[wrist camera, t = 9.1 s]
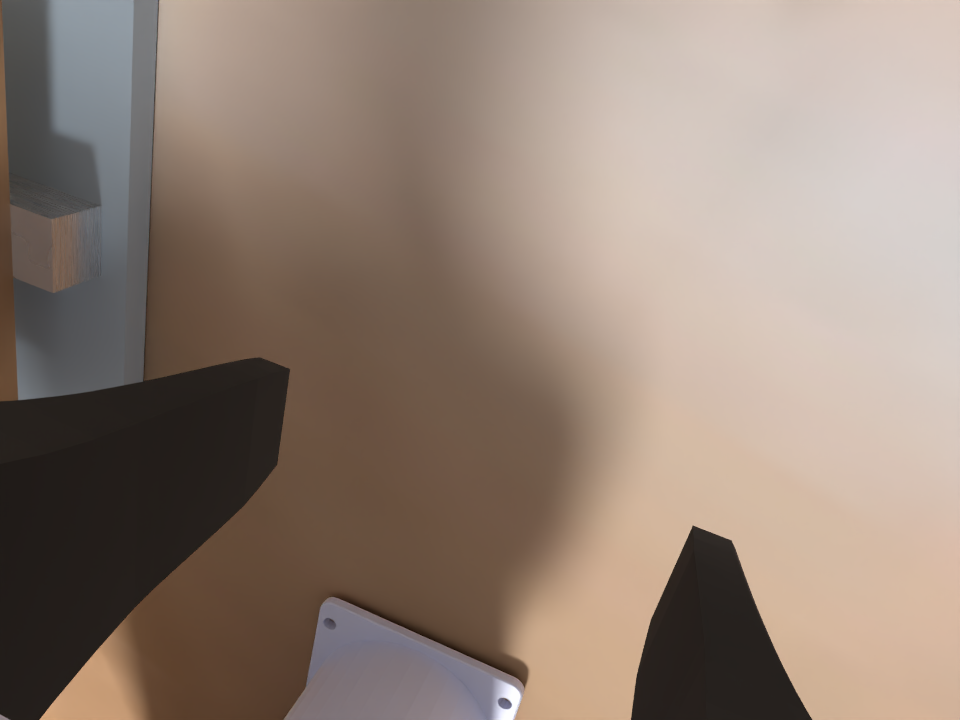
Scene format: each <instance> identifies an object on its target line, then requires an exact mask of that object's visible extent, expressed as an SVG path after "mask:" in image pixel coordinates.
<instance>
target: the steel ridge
mask: <svg viewBox="0 0 960 720" xmlns="http://www.w3.org/2000/svg"><path fill="white" fill-rule="evenodd" d="M9 190H10V214H11V238H12V263H13V278H16V279H18V280H21V281H23V282H26V283H29V284H31V285H34V286H36V287H39V288H41V289H44V290H46V291H49V292H51V293H55V292H58V291H60V290H63V289H66V288H68V287H71V286H74V285H76V284H79V283H82V282H84V281H87V280H90V279H92V278H95V277H98V276H100V275H101V232H102V206H101V205H98V204H95V203H92V202H90V201H87V200H84V199H81V198H79V197H76V196H73V195H70V194H68V193H65V192H62V191H59V190H56V189H54V188H51V187H48V186H45V185H43V184H40V183H37V182H34V181H32V180H29V179H26V178H23V177H21V176H18V175H15V174H12V173H10V172H9Z"/></svg>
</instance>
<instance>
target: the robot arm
mask: <svg viewBox="0 0 960 720" xmlns="http://www.w3.org/2000/svg"><path fill="white" fill-rule="evenodd" d="M289 372H290V369H288V368H285V367H283V366H280V365H278V364H275V363H273V362H270V361H267V360H265V359H262V358H252V359H245V360H240V361H234V362H230V363H225V364H220V365H216V366H211V367H207V368H202V369H198V370H194V371H189V372H185V373H180V374H176V375H171V376H167V377H162V378H158V379H154V380H149V381H144V382H138V383H133V384H128V385H122V386H117V387H112V388H106V389H101V390H96V391H90V392H83V393H77V394H70V395H62V396H54V397H44V398H35V399H26V400H14V401H0V720H39V719H40V718H41V717H42V716H43V714H44V713H45V712H46V711H47V709H48V708H49V707H50V705H51V704H52V703H53V702H54V700H55V699H56V698H57V697H58V696H59V694H60V693H61V692H62V691H63V690H64V688H65V687H66V686H67V685H68V684H69V682H70V681H71V680H72V679H73V678H74V677H75V675H76V674H77V673H78V672H79V671H80V669H81V668H82V667H83V666H84V665H85V663H86V662H87V661H88V660H89V659H90V657H91V656H92V655H93V654H94V653H95V652H96V650H97V649H98V648H99V647H100V646H101V645H102V644H103V642H104V641H105V640H106V639H107V638H108V637H109V636H110V635H111V633H112V632H113V631H114V630H115V629H116V628H117V627H118V626H119V624H120V623H121V622H122V621H123V620H124V619H125V618H126V617H127V615H128V614H129V613H130V612H131V611H132V610H133V609H134V608H135V607H136V606H137V605H138V604H139V603H140V602H141V601H142V600H143V599H144V598H145V597H146V596H147V595H148V594H149V593H150V592H151V591H152V590H153V589H154V588H155V587H156V586H157V585H158V584H159V583H160V582H162V581H163V580H164V579H165V578H166V577H167V576H168V575H169V574H170V573H171V572H172V571H174V570H175V569H176V568H177V567H178V566H179V565H180V564H181V563H182V562H183V561H185V560H186V559H187V558H188V557H189V556H190V555H191V554H192V553H193V552H194V551H196V550H197V549H198V548H199V547H200V546H201V545H202V544H203V543H204V542H205V541H207V540H208V539H209V538H210V537H211V536H212V535H213V534H214V533H215V532H216V531H217V530H218V529H220V528H221V527H222V526H223V525H224V524H225V523H226V522H227V521H228V520H229V519H230V518H231V517H232V516H233V515H235V514H236V513H237V512H238V511H239V510H240V509H241V508H242V507H243V506H244V505H245V504H246V502H247V501H248V500H249V499H250V498H251V496H252V495H253V494H254V493H255V492H256V491H257V489H258V488H259V487H260V486H261V484H262V483H263V482H264V481H265V479H266V478H267V477H268V475H269V474H270V473H271V472H272V470H273V469H274V468H275V467H276V465H277V461H278V454H279V446H280V439H281V431H282V424H283V416H284V409H285V402H286V394H287V387H288V379H289ZM330 619H332V620H333V621H334V622H333V621H332V620H330ZM523 694H524V686H523V684H522V683H521V682H520V680H518V679H517V678H515V677H513V676H511V675H509V674H507V673H504V672H502V671H500V670H498V669H495V668H493V667H491V666H489V665H486V664H484V663H482V662H480V661H478V660H475V659H473V658H471V657H469V656H466V655H464V654H462V653H460V652H457V651H455V650H453V649H451V648H448V647H446V646H444V645H442V644H439V643H437V642H435V641H433V640H430V639H428V638H426V637H424V636H422V635H419V634H417V633H415V632H413V631H410V630H408V629H406V628H404V627H401V626H399V625H397V624H395V623H392V622H390V621H388V620H386V619H383V618H381V617H379V616H377V615H374V614H372V613H370V612H368V611H366V610H363V609H361V608H359V607H357V606H354V605H352V604H350V603H348V602H345V601H343V600H341V599H339V598H335V597H329V598H327V599H326V600H325V601H324V602H323V604H322V605H321V607H320V612H319V618H318V623H317V628H316V634H315V639H314V645H313V650H312V656H311V661H310V666H309V672H308V677H307V683H306V688H305V689H304V691H303V692H302V694H301V695H300V697H299V698H298V699H297V701H296V702H295V704H294V705H293V707H292V708H291V709H290V711H289V712H288V714H287V715H286V717H285V718H284V719H283V720H514V719H515V716H516V713H517V711H518V708H519V705H520V702H521V700H522V697H523ZM504 698H507V699H508V700H510V701H507V700H505V699H504ZM631 720H812V718H811V717H810V715H809V714H808V712H807V710H806V708H805V707H804V705H803V703H802V702H801V700H800V698H799V696H798V694H797V693H796V691H795V689H794V687H793V685H792V683H791V681H790V679H789V677H788V675H787V673H786V671H785V669H784V667H783V665H782V663H781V661H780V659H779V657H778V655H777V653H776V651H775V648H774V646H773V644H772V642H771V639H770V637H769V635H768V632H767V630H766V628H765V626H764V623H763V621H762V619H761V616H760V614H759V611H758V609H757V606H756V604H755V601H754V599H753V596H752V594H751V591H750V588H749V586H748V583H747V580H746V578H745V575H744V572H743V569H742V567H741V564H740V561H739V558H738V555H737V552H736V549H735V547H734V545H733V543H732V541H731V540H729V539H726V538H723V537H721V536H718V535H716V534H713V533H711V532H708V531H705V530H703V529H700V528H698V527H695V526H693V527H692V529H691V531H690V534H689V536H688V538H687V540H686V542H685V545H684V547H683V549H682V551H681V554H680V556H679V558H678V560H677V563H676V565H675V567H674V569H673V572H672V574H671V576H670V578H669V581H668V583H667V585H666V587H665V590H664V592H663V594H662V596H661V599H660V601H659V603H658V605H657V608H656V610H655V612H654V614H653V617H652V619H651V622H650V625H649V629H648V633H647V637H646V641H645V645H644V649H643V653H642V657H641V661H640V665H639V669H638V673H637V678H636V685H635V693H634V701H633V709H632V717H631Z"/></svg>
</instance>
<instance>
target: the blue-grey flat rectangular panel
mask: <svg viewBox="0 0 960 720" xmlns="http://www.w3.org/2000/svg"><path fill="white" fill-rule="evenodd" d="M157 17H158V0H2V20H3V44H4V68H5V93H6V117H7V141H8V165H9V172H10V173H12V174H15V175H18V176H21V177H23V178H26V179H29V180H32V181H34V182H37V183H40V184H43V185H45V186H48V187H51V188H54V189H56V190H59V191H62V192H65V193H68V194H70V195H73V196H76V197H79V198H81V199H84V200H87V201H90V202H92V203H95V204H98V205H101V206H102V232H101V275H100V276H98V277H95V278H92V279H90V280H87V281H84V282H82V283H79V284H76V285H74V286H71V287H68V288H66V289H63V290H60V291H58V292H55V293H51V292H49V291H46V290H44V289H41V288H39V287H36V286H34V285H31V284H29V283H26V282H23V281H21V280H18V279H16V278H13V287H14V311H15V335H16V360H17V384H18V400H26V399H35V398H44V397H54V396H62V395H70V394H77V393H83V392H90V391H96V390H101V389H106V388H112V387H117V386H122V385H128V384H133V383H138V382H143V374H144V349H145V323H146V298H147V272H148V247H149V221H150V196H151V170H152V145H153V119H154V94H155V68H156V43H157Z"/></svg>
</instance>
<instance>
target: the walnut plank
mask: <svg viewBox="0 0 960 720" xmlns="http://www.w3.org/2000/svg"><path fill="white" fill-rule="evenodd" d="M14 400H18V384H17V360H16V335H15V311H14V287H13V263H12V238H11V214H10V190H9V165H8V141H7V117H6V93H5V68H4V44H3V20H2V0H0V401H14Z"/></svg>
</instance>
